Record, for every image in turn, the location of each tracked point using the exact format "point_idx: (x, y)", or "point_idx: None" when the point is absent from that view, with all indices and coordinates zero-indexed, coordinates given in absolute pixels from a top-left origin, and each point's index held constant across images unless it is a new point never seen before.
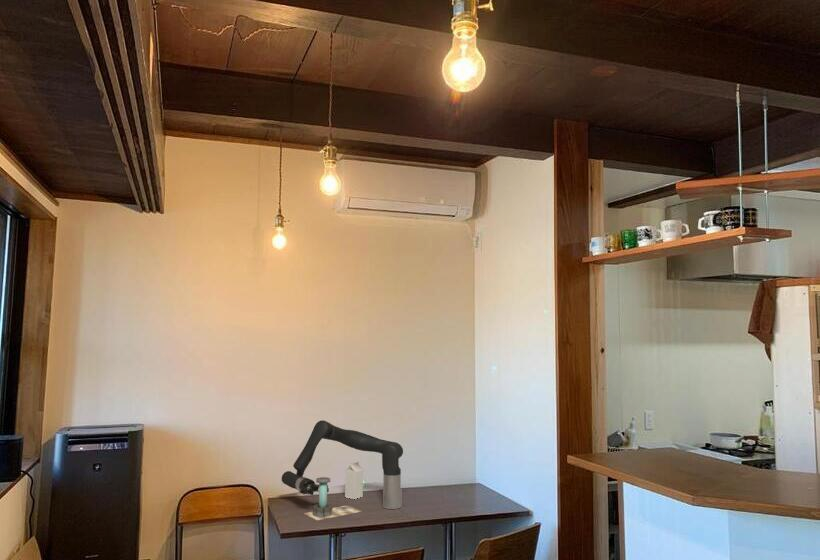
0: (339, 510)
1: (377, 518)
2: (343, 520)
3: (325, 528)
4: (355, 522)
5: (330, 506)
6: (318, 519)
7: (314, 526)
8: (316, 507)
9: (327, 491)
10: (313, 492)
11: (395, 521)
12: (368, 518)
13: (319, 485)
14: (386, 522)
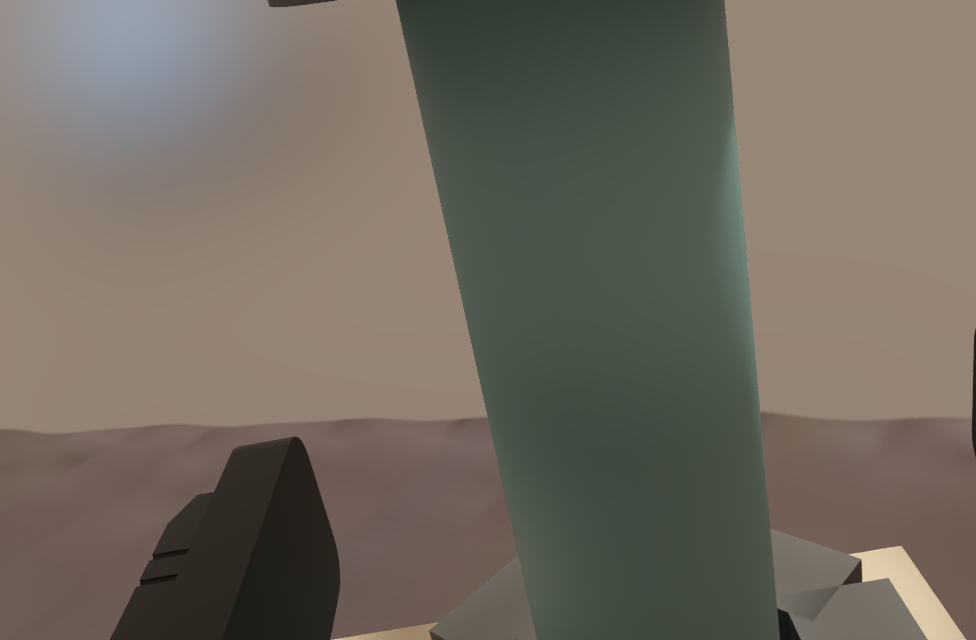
0: None
1: (35, 536)
2: (424, 591)
3: (805, 418)
4: (350, 492)
5: (501, 591)
6: (865, 567)
7: (961, 498)
8: (870, 625)
9: (320, 530)
10: (974, 377)
11: (31, 433)
12: (102, 563)
13: (728, 61)
14: (113, 429)
